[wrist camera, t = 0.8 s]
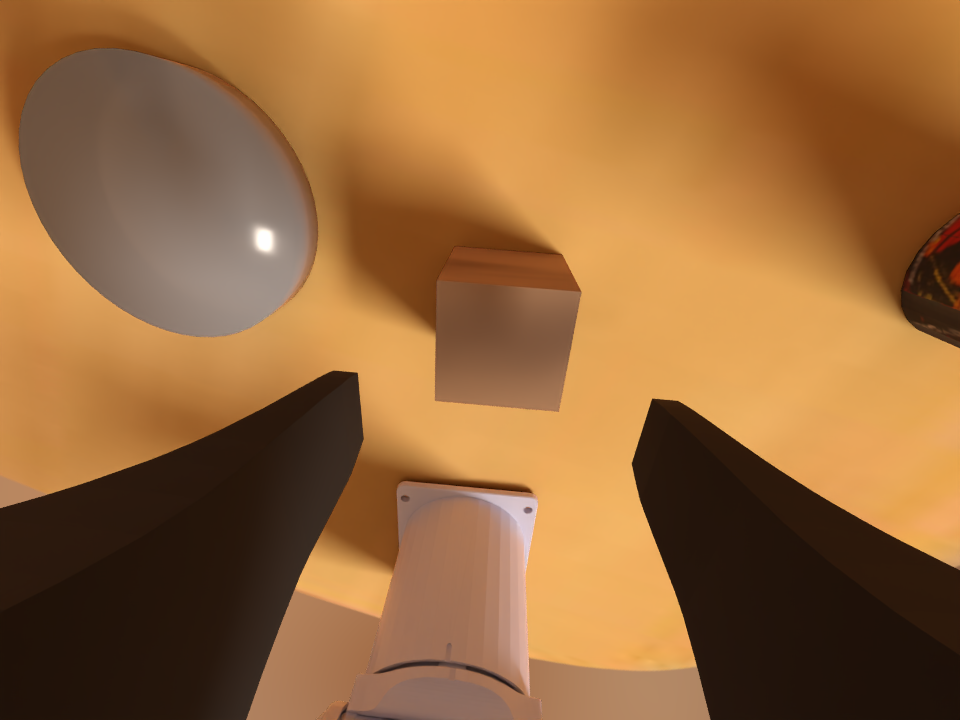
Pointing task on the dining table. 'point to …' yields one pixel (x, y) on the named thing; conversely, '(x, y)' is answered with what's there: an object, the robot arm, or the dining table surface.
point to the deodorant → (936, 286)
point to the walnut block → (504, 328)
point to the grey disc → (167, 190)
